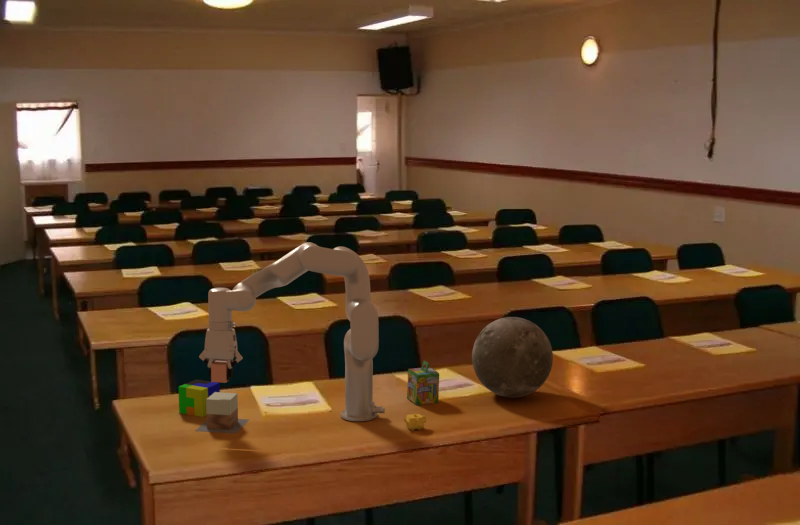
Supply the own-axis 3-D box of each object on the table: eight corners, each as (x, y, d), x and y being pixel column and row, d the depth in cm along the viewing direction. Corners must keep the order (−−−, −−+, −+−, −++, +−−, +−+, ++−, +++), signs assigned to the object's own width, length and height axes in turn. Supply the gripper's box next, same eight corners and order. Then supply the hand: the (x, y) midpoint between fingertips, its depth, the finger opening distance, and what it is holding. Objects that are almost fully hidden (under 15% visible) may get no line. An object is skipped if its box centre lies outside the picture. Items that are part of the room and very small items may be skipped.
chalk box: (406, 398, 328) (407, 360, 326) (429, 396, 331) (429, 357, 329) (416, 406, 320) (416, 366, 317) (439, 403, 323) (440, 364, 321)
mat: (249, 420, 302) (249, 419, 302) (236, 434, 288) (235, 433, 288) (210, 418, 304) (210, 417, 304) (195, 432, 290) (195, 430, 290)
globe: (568, 399, 329) (571, 320, 324) (507, 413, 312) (509, 330, 307) (514, 380, 353) (516, 306, 349) (455, 392, 337) (456, 315, 332)
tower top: (237, 407, 299) (237, 393, 298) (229, 415, 291) (229, 400, 290) (215, 406, 300) (214, 392, 299) (206, 413, 292) (206, 399, 291)
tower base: (238, 421, 299) (237, 407, 299) (230, 429, 292) (229, 415, 291) (215, 420, 301) (215, 406, 300) (207, 428, 293) (206, 413, 292)
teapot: (406, 433, 291) (406, 418, 290) (400, 427, 296) (401, 413, 296) (429, 431, 293) (429, 416, 293) (423, 425, 299) (423, 410, 298)
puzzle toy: (220, 410, 313) (219, 382, 312) (202, 418, 304) (201, 390, 303) (197, 406, 317) (196, 379, 316) (179, 414, 308) (178, 386, 307)
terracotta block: (230, 378, 296) (230, 361, 295) (225, 382, 291) (225, 365, 290) (216, 377, 297) (216, 360, 296) (211, 381, 292) (211, 364, 291)
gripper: (248, 324, 293) (249, 377, 296) (199, 321, 296) (200, 374, 299) (241, 329, 286) (242, 383, 289) (191, 326, 288) (192, 380, 291)
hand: (221, 378), depth 294 cm, fingers closed on terracotta block, 5 cm apart
